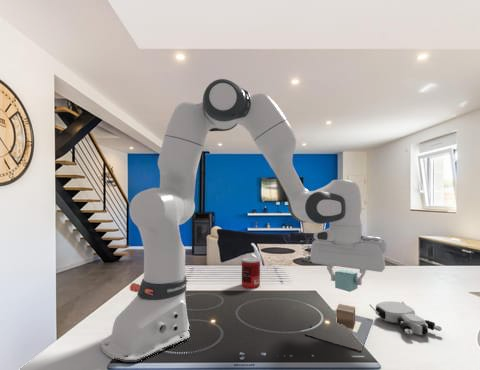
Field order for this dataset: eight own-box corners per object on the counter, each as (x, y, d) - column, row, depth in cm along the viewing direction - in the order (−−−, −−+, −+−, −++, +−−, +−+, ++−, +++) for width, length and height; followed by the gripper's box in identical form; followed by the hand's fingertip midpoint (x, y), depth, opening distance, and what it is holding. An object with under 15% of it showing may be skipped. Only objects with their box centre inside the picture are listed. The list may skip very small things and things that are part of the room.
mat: (361, 352, 63) (361, 350, 63) (304, 334, 71) (304, 333, 71) (373, 320, 80) (373, 319, 80) (326, 309, 87) (326, 308, 87)
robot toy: (445, 340, 71) (400, 312, 86) (446, 323, 71) (400, 298, 86) (406, 344, 68) (367, 315, 83) (407, 327, 68) (367, 301, 83)
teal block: (350, 291, 74) (349, 275, 74) (335, 287, 77) (334, 272, 77) (357, 288, 77) (357, 272, 77) (342, 284, 80) (342, 269, 80)
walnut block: (353, 329, 73) (353, 312, 74) (336, 325, 76) (336, 309, 76) (355, 322, 77) (355, 306, 78) (339, 319, 80) (339, 303, 80)
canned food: (260, 283, 114) (260, 257, 115) (259, 289, 106) (259, 261, 107) (242, 282, 115) (242, 256, 116) (240, 288, 107) (241, 261, 108)
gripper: (386, 236, 75) (387, 285, 74) (314, 231, 86) (314, 274, 85) (385, 238, 70) (386, 292, 69) (308, 233, 80) (308, 279, 80)
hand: (346, 282), depth 77 cm, fingers closed on teal block, 5 cm apart
